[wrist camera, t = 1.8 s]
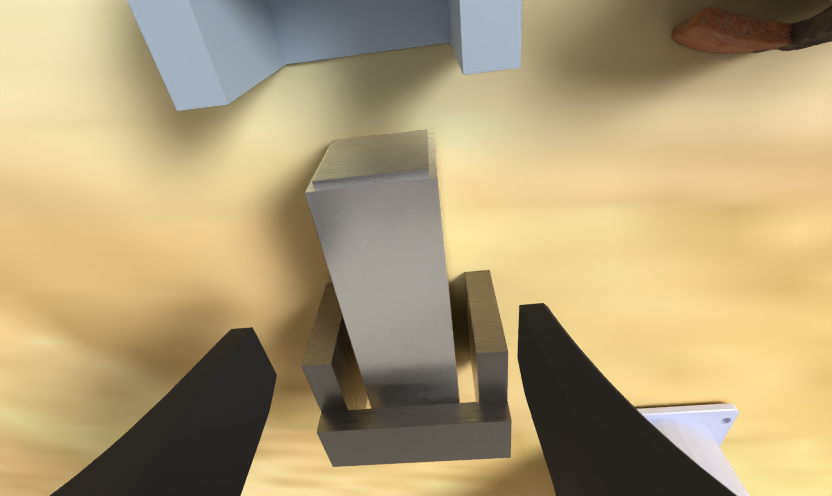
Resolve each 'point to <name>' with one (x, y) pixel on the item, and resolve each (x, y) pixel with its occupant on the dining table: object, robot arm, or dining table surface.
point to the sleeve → (411, 425)
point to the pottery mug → (751, 32)
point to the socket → (311, 37)
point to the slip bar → (389, 264)
